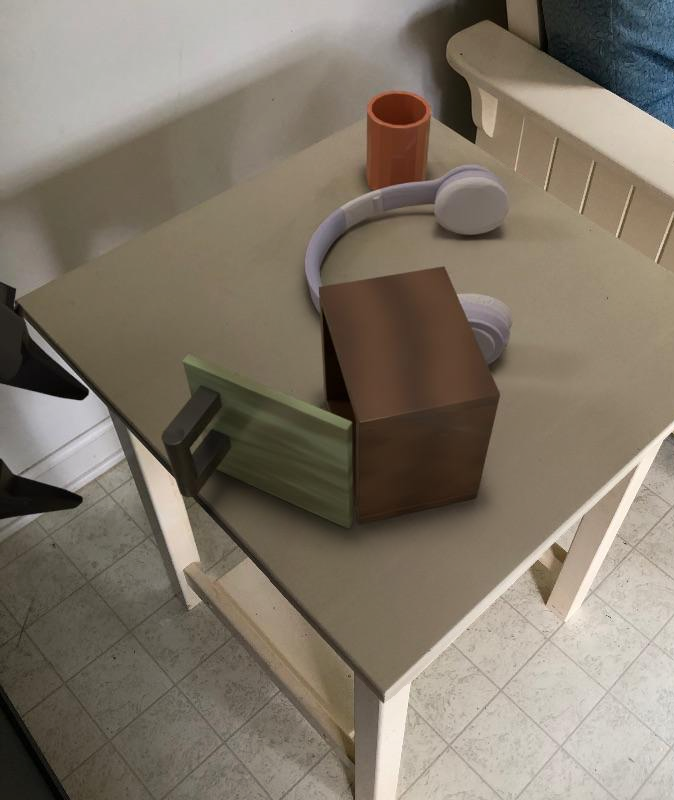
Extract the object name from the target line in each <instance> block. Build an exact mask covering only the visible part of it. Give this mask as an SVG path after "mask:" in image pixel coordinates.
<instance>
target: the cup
mask: <svg viewBox="0 0 674 800" xmlns="http://www.w3.org/2000/svg"><path fill="white" fill-rule="evenodd" d="M431 119H432V106H431V105H430V104H429V102H428V101H427V99H425V98H424V97H423V96H420V95H419V94H416V93H414V92H410V91H406V90H389V91H385V92H381V93H378V94H376V95H375V96H373V97H372V98H370V100H369V102H368V103H367V104H366V169H365V170H366V171H365V172H366V174H365V175H366V176H365V177H366V178H365V179H366V184H367V185H368V188H369V189H370V190H371V192H372V191H375V190H379V189H382V188H386V187H389V186H394V185H399V184H404V183H411V182H421V181H427V169H428V157H429V144H430V132H431V121H432V120H431Z"/></svg>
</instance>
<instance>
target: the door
mask: <svg viewBox="0 0 674 800" xmlns="http://www.w3.org/2000/svg"><path fill="white" fill-rule="evenodd" d="M182 365H183V369H184V373H185V377H186V380H187V385H188V388H189V393H190V395H191V397H190V398H189V399H188V400H187V402H186V403H185V404H184V406H183V407H182V408H181V409H180V410H179V412H178V413H177V414H176V415H175V417H174V418H173V419H172V420H171V421H170V423H169V424H168V425H167V426H166V428H165V429H164V430H163V431H162V434H161V441H162V443H163V447H164V449H165V450H164V451H165V453H166V456H167V459H168V462H169V465H170V468H171V471H172V474H173V477H174V480H175V482H176V485H177V488H178V492H179V494H180V496H182V497H184V498H193V497H196V496H197V495H198V494H199V493H200V491H201V490H202V489H203V487H204V486H205V485H206V483H207V482H208V481H209V479H210V478H211V476H212V475H213V474H214V472H215V471H216V470H217V471H218V472H221V473H224V474H225V475H227V476H230V477H232V478H234V479H237V480H238V481H240V482H243V483H246V484H248V485H250V486H252V487H254V488H256V489H259V490H260V491H263V492H266V493H268V494H270V495H272V496H274V497H276V498H279V499H281V500H283V501H285V502H287V503H289V504H293V505H295V506H297V507H299V508H301V509H303V510H306V511H308V512H310V513H312V514H315V515H317V516H319V517H321V518H323V519H326V520H327V521H330V522H331V523H335V524H337V525H339V526H342V527H343V528H346V529H350V528H351V526H352V525H353V523H354V504H353V452H352V422H351V421H349V420H347V419H344V418H342V417H339V416H337V415H335V414H332V413H330V412H328V410H326V409H325V410H324V409H323V408H320V407H318V406H316V405H313V404H311V403H308V402H307V401H303V400H302V399H298V398H297V397H294V396H291V395H289V394H287V393H283V392H281V391H279V390H277V389H274V388H272V387H270V386H267V385H264V384H262V383H259V382H257V381H255V380H252V379H250V378H248V377H245V376H243V375H241V374H239V373H236V372H234V371H231V370H228V369H226V368H225V367H224V368H223V367H221V366H219V365H216V364H214V363H212V362H210V361H207V360H204V359H202V358H199V357H197V356H194V355H193V354H190V353H188V354H186V356H185V357H184V359H182ZM200 436H201V438H202V440H201V442H200V443H199V444H198V446H197V447H196V448H195V449H194V451H193V452H192V451H191V447H192V446H193V445H194V444H195V443H196V441H197V440H198V438H199V437H200Z"/></svg>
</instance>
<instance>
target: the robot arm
mask: <svg viewBox="0 0 674 800" xmlns="http://www.w3.org/2000/svg"><path fill="white" fill-rule="evenodd" d="M16 294H17V288H16V287H14V286H11V285H9V284H7V283H4V282H3V281H0V384H1V385H5V386H9V387H13V388H17V389H22V390H26V391H29V392H30V391H31V392H34V393H39V394H42V395H47V396H50V397H55V398H59V399H65V400H73V401H78V402H79V401H81V402H82V401H84V400H85V399H86V398H87V397H88V396H89V395H90V389H89V388H88V387H87V386H85V385H84V384H83V383H82V382H81V381H80V380H78V379H77V378H76V377H75V376H74V375H73V374H71V372H69V371H68V370H67V369H66V368H64V367H63V366H62V365H61V364H60V363H58V362H57V361H56V360H55V359H54V358H53V357H52V356H50V355H49V354H48V353H47V352H46V351H45V350H44V349H43V348H42V347H41V346H40V345H39V344H38V343H37V342H36V341H35V340H34V339H33V338H32V336H31V335H30V332H29V329H28V326H27V323H26V320H25V316H24V315H25V314H24V313H25V309H24V307H23V306H22V304H21V303H20V302H19V303H18V302H17V303H16ZM15 303H16V304H15ZM83 501H84V497H83V496H82V495H80V494H77V493H76V492H74V491H73V492H72V491H70V490H68V489H66V488H62V487H59V486H55V485H52V484H49V483H45V482H42V481H38V480H36V479H35V480H34V479H32V478H27V477H24V476H20V475H18V474H15V473H14V472H12V470H11V469H10V467H9V466H8V465H7V464H6V462H5V461H4V460H3V458H0V521H2V520H5V519H11V518H17V517H18V518H19V517H23V516H24V517H25V516H31V515H32V516H33V515H40V514H46V513H53V512H60V511H66V510H67V511H68V510H74V509H76V508H78V507H79V506H80V505H82V504H83Z"/></svg>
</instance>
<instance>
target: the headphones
mask: <svg viewBox="0 0 674 800" xmlns="http://www.w3.org/2000/svg"><path fill="white" fill-rule="evenodd" d="M424 205H433V214H434V217H435V220H436V222H437V223H438V224H439V225H440V226H441V227H442V228H444V229H446V230H448V231H450V232H452V233H455V234H460V235H465V236H466V235H469V236H470V235H480V234H486V233H488V232H491V231H493V230H495V229H497V228H498V227H500V225H501V224H502V223H503V222H504V221H505V220H506V217H507V215H508V214H509V211H510V199H509V196H508V192H507V190H506V188H505V185H504V184H503V182H502V181H501V180H500V179H499V178H498V177H497V176H496V175H495V173H494V172H492V170H490V169H488V168H487V167H484V166H481V165H479V164H463V165H459V166H457V167H454V168H452V169H450V170H449V171H448V172H446V173H444V174H443V175H442V176H441V177H438V178H435V179H432V180H431V179H430V180H425V181H421V182H411V183H404V184H399V185H394V186H389V187H386V188H382V189H379V190H375V191H372V190H371V191H370V192H369V191H368V192H367V193H365V194H362V195H360V196H357V197H356V198H354V199H352V200H350V201H348V202H346V203H345V204H343V205H342V206H340V207H338V208H337V209H336V210H334V211H333V212H332V213H331V214H329V215H328V216H327V217H326V218H325V219H324V220H323V221H322V222H321V223H320V225H318V227H317V229H316V230H315V231H314V233H313V235H312V236H311V238H310V239H309V240H310V241H309V242H308V245H307V249H306V251H305V258H304V268H305V269H304V270H305V275H306V280H307V286H308V288H309V289H308V290H309V293H310V296H311V300H312V303H313V304H314V307H315V308H316V311H317V312H318V313H319V314H320V302H319V287H322V286H323V283H322V282H323V281H322V278H321V267H322V264H323V261H324V259H325V257H326V254H327V253H328V251H329V249H330V247H331V246H332V245H333V243H334V242H335V241H336V240H337V239H338V238H339V237H341V235H343V234H344V233H346V231H347V230H348V229H350V228H351V227H353V226H355V225H356V224H358V223H360V222H362V221H364V220H367V219H369V218H370V217H373V216H376V215H380V214H382V213H386V212H388V211H393V210H396V209H402V208H407V207H414V206H424ZM456 294H457V296H458V299H459V301H460V303H461V305H462V308H463V310H464V312H465V315H466V317H467V319H468V321H469V324H470V326H471V328H472V331H473V333H474V335H475V337H476V340H477V342H478V344H479V347H480V349H481V351H482V354H483V356H484V358H485V360H486V363H487V365H488V366H489V365H491V364H492V363H493V362H495V361H496V360H497V359H498V358H499V357H500V356H501V355H502V352H503V351H504V347H505V348H506V347H507V346H508V345H509V342H510V337H511V328H512V326H513V315H512V312H511V310H510V309H509V307H508V306H507V304H505V303H504V302H503V301H501V300H500V299H497V298H495V297H492V296H489V295H484V294H480V293H456Z"/></svg>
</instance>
